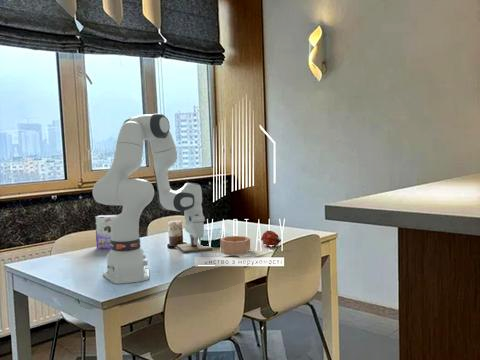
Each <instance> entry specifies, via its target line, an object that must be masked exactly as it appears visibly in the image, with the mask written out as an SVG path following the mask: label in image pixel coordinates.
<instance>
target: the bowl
mask: <svg viewBox="0 0 480 360" xmlns="http://www.w3.org/2000/svg"><path fill="white" fill-rule="evenodd" d="M219 245H220V247H219V249H220V252H221V253H222V254H227V255H228V254H229V255H241V253H242V254H246V253H245V252H247V251H249V250H250V251H251V238H250V237H247V236H244V235H243V236H242V235H230V236H224V237H222V238H220V239H219ZM247 253H248V252H247Z"/></svg>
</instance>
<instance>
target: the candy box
mask: <svg viewBox="0 0 480 360" xmlns="http://www.w3.org/2000/svg"><path fill="white" fill-rule="evenodd" d="M117 215H118V214H106V215H105V214H104V215H103V214H100V215H99V214H98V215H97V216H94V222H95V238H96V242H95V243H96V250H100V249H101V250H107V249H108V250H111V248H110V240H111V221H112V219H113V218H114V217H115V216H117Z"/></svg>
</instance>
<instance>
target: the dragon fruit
mask: <svg viewBox="0 0 480 360" xmlns="http://www.w3.org/2000/svg"><path fill="white" fill-rule="evenodd" d="M260 240H261V241H262V244H263V245H264V244H266V245H265V246H268V245H275V246H278V245H279V244H280V243H281V242H282V239H281V238H280V237H279V235H278V234H277V233H276V232H274V230H273V231H272V230H266V231H265V232H263V234H262V236H261V238H260Z"/></svg>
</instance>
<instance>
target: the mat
mask: <svg viewBox="0 0 480 360" xmlns="http://www.w3.org/2000/svg"><path fill="white" fill-rule="evenodd" d="M174 248H175V249H176V250H177V251H178V252H180V253H181V254H182V255H187V254H190V253H183V252H182V251H181V250H180V249H179V248H177V246H174ZM206 252H208V251H201V252H200V253H206ZM209 252H215V249H213V248H212V250H210V251H209ZM195 253H199V252H192V253H191V254H195Z"/></svg>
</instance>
